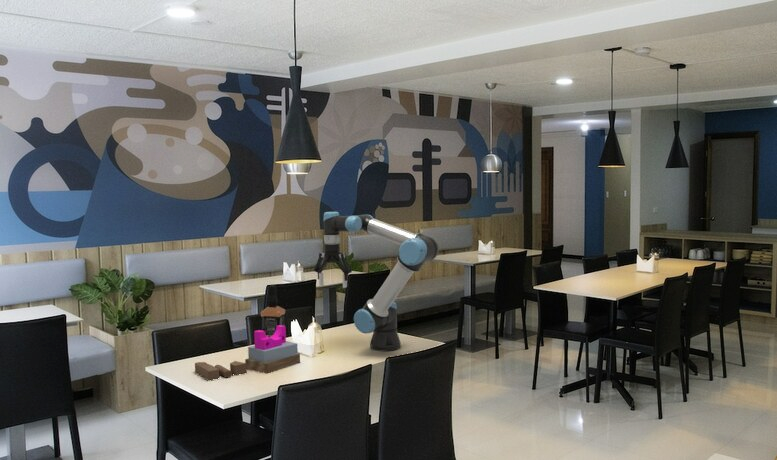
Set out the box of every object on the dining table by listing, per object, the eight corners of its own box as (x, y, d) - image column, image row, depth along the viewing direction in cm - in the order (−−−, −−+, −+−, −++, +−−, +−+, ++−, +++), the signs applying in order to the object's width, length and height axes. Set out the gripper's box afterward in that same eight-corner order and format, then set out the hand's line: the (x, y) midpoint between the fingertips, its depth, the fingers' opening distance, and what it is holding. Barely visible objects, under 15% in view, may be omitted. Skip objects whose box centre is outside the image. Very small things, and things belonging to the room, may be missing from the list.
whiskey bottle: (287, 348, 319) (285, 284, 317) (280, 353, 310) (278, 287, 308) (267, 347, 321) (265, 283, 319) (260, 352, 311) (258, 287, 309)
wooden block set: (209, 369, 265) (193, 360, 280) (209, 382, 266) (194, 373, 280) (247, 361, 275) (230, 353, 290) (248, 374, 276) (231, 365, 290)
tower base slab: (300, 364, 292) (299, 353, 292) (268, 375, 276) (267, 363, 275) (277, 360, 300) (277, 349, 300) (245, 370, 284) (245, 359, 283)
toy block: (264, 350, 279) (263, 333, 279) (254, 347, 283) (254, 331, 283) (289, 343, 291) (289, 326, 290) (280, 341, 295) (279, 325, 294)
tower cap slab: (297, 354, 290) (297, 343, 290) (264, 362, 277) (264, 351, 277) (281, 350, 298) (281, 339, 298) (248, 358, 285) (248, 346, 285)
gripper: (306, 243, 316) (307, 286, 318) (349, 244, 305) (351, 289, 306) (314, 242, 323) (316, 284, 324) (357, 243, 311) (359, 286, 313)
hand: (333, 286), depth 315 cm, fingers open, 13 cm apart
